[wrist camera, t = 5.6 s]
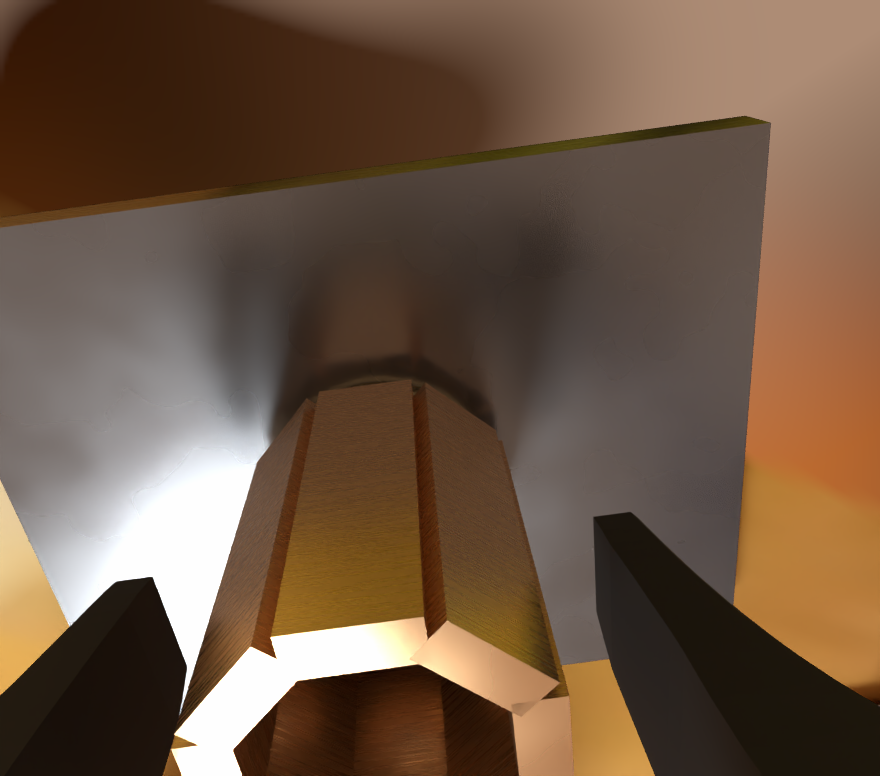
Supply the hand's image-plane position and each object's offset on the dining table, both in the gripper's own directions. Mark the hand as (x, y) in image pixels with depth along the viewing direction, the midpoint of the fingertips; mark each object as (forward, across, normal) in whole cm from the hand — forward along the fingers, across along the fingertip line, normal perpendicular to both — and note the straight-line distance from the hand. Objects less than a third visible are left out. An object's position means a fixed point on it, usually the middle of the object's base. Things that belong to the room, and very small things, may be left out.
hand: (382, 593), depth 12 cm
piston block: (+4, 0, 0) cm, 4 cm away
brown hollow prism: (+3, 0, 0) cm, 3 cm away
